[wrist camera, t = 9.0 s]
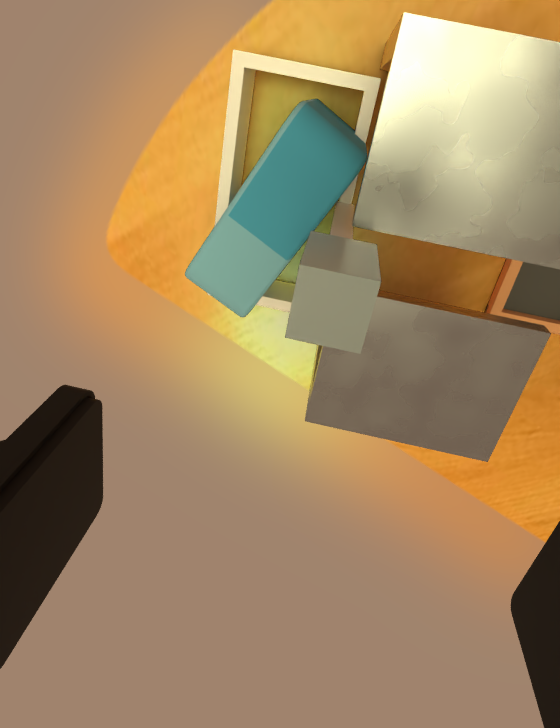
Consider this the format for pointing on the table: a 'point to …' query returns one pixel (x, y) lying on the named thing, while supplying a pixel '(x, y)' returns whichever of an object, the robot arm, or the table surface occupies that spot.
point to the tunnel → (451, 234)
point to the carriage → (323, 251)
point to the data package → (278, 206)
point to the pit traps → (528, 294)
